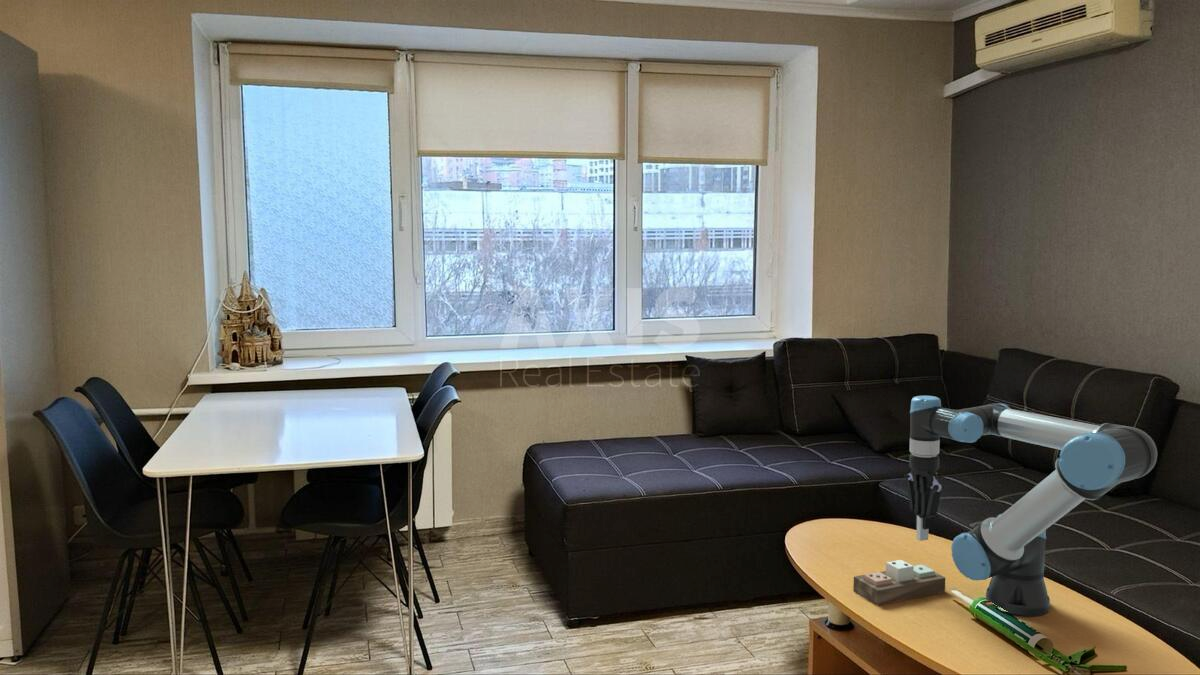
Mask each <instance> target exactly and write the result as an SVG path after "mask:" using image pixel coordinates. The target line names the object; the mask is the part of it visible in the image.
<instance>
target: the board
mask: <svg viewBox="0 0 1200 675" xmlns="http://www.w3.org/2000/svg"><path fill="white" fill-rule="evenodd" d="M877 572H878V571H877ZM877 572H875V573H877ZM880 572H881V573H882V574H884V575H886V570H881V571H880ZM864 575H866V574H861V575H855V576H853V586H852V587H853V589H852V590H853V592H854V593H856V594H858V595H860V596H861V597H863V598H864V599H866V600H868V601H869V602H871V603H873V604H874V605H876V606H879V605H885V604H890V603H894V602H899V601H900V602H901V601H905V600H910V599H915V598H919V597H921V598H922V597H925V596H930V595H935V594H936V595H937V594H940V593H945V592H946V577H945V576H943V575H941V574H940V573H937V572H936V571H935V573H934V576H930V577H924V578H917V577H916V576H914V575H913V580H908V581H903V582H896V581H894V580H892V584H887V585H882V586H874V585H872V584H870V583H869V582H867V581H865V580H864Z"/></svg>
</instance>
